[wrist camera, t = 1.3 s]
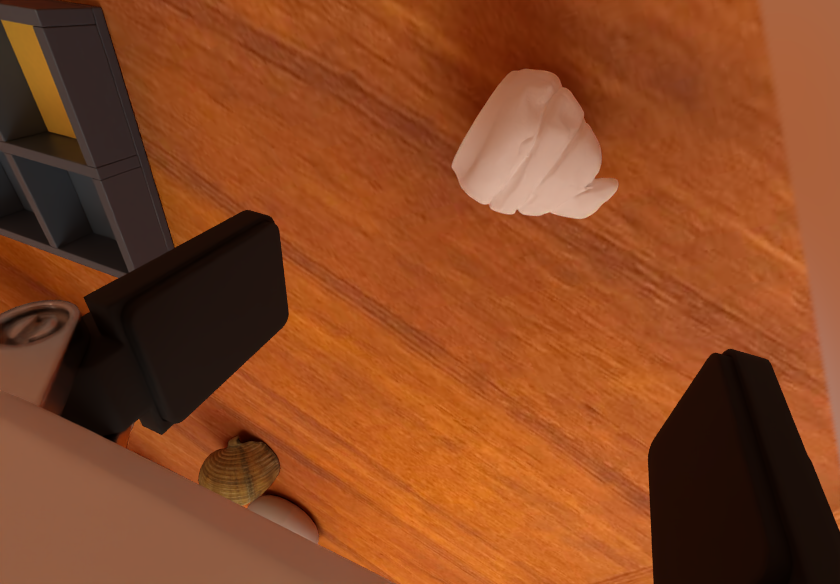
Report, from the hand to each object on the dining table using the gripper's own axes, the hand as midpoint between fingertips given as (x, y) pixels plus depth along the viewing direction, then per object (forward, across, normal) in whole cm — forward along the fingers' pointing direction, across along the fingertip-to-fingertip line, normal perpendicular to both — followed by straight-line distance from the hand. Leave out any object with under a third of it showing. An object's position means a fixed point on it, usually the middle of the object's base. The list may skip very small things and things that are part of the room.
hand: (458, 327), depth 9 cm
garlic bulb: (+14, 0, -1) cm, 14 cm away
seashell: (+14, +24, +39) cm, 48 cm away
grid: (+14, +35, +6) cm, 38 cm away
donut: (+14, +20, +50) cm, 56 cm away
